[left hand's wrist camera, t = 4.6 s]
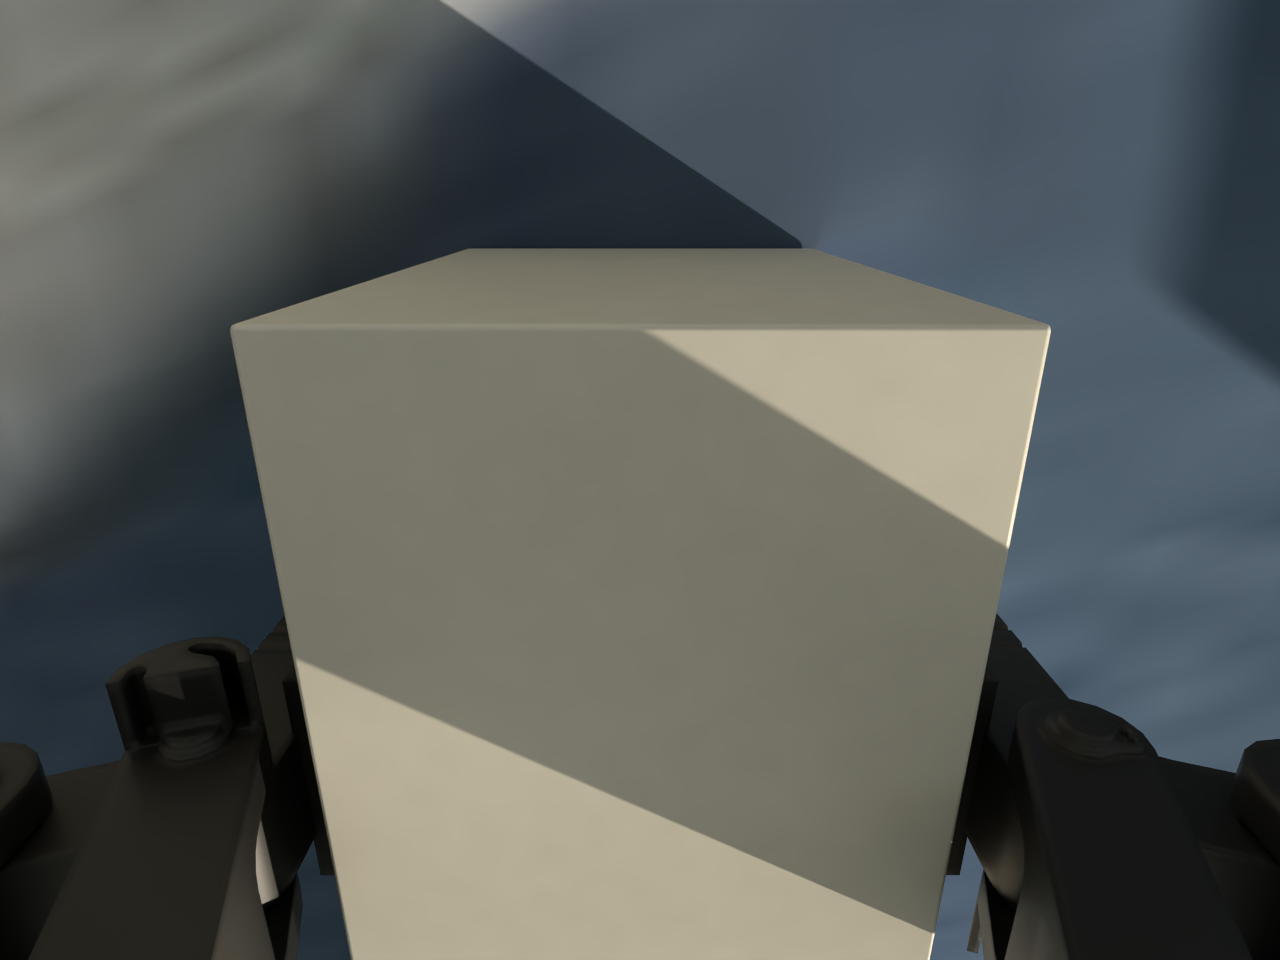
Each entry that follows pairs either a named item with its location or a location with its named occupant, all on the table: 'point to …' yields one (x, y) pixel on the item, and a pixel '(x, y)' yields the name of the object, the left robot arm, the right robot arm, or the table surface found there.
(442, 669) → the beam
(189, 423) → the table surface
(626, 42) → the table surface
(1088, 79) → the table surface
